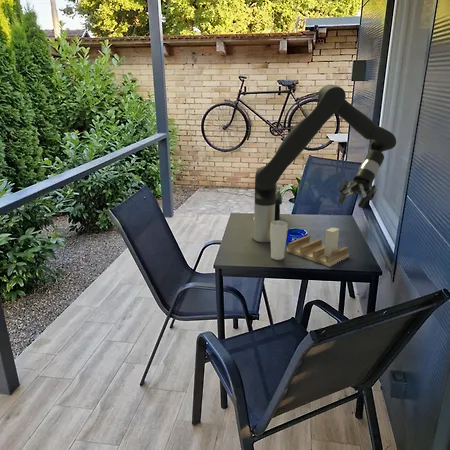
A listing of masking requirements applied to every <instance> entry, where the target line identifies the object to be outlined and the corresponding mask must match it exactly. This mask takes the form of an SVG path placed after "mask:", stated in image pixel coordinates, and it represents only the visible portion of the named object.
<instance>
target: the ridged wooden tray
mask: <svg viewBox="0 0 450 450" xmlns="http://www.w3.org/2000/svg"><path fill="white" fill-rule="evenodd" d="M310 240H311V235H308V234H307V235H305V236H303V237H300V238H297V239H295V240H292V241H291V242H287V243H288V244H287V248H286V252H287V253H290V254H292V255H295V256H298V257H301V258H304V259H307V260H309V261H312V262H314V263H317V262H318V264H320V263H321V265H324V266H327V267H332V266H334V265H336V264H337V262H338V263H340V262H341V260H342V261H344V260H345V259H347V258H349V253H348V250H349V248H348V247H347V246H344V247H342V248H340V249H337V251H336V252H334V253H332V254H330V255H328V256H324V247H325V245H324V244H323V239H322V238H319V239H316V240H313V241H310ZM322 244H323V245H322ZM339 261H340V262H339Z"/></svg>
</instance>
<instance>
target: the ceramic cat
mask: <svg viewBox="0 0 450 450" xmlns="http://www.w3.org/2000/svg"><path fill="white" fill-rule="evenodd" d="M277 187H278V184H277V183H276V189H275V219H274V221H281V220H280V218H281V205H282V204H283V196H282V192H281V190H280V189H279V190H277Z"/></svg>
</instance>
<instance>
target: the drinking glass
mask: <svg viewBox="0 0 450 450" xmlns="http://www.w3.org/2000/svg"><path fill="white" fill-rule="evenodd" d="M287 236H288V222H286V221H284V220H279V221H272V222H271V226H270V239H271V242H270V257H271V259H273V260H276V261H281V260H284V258H285V250H286V243H287Z"/></svg>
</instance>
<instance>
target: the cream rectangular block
mask: <svg viewBox="0 0 450 450" xmlns="http://www.w3.org/2000/svg"><path fill="white" fill-rule="evenodd" d="M339 234H340V228H338V227H337V228H336V227H330V228H328V229H326V230H325V238H324V239H325V240H324V246H325V247H324V256H328V255H330V254H332V253H334V252H336V251H337V250H338V245H339V236H340V235H339Z"/></svg>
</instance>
